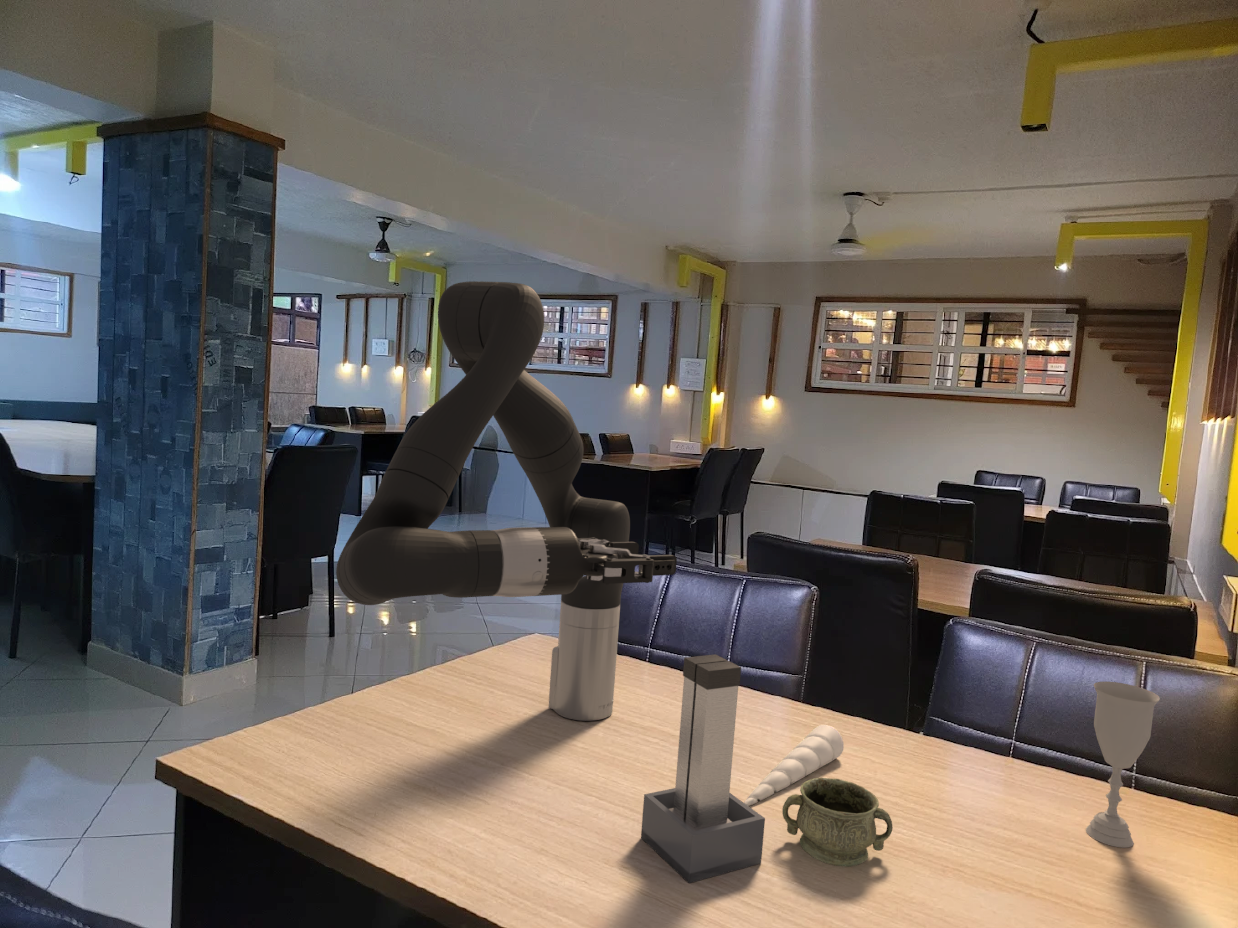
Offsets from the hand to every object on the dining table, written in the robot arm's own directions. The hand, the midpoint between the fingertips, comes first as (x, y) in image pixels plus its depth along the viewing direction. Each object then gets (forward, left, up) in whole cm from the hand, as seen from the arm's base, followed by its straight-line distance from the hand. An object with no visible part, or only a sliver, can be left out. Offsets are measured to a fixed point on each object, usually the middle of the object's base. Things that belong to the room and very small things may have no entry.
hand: (655, 557), depth 97 cm
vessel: (+23, +4, -30) cm, 38 cm away
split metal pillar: (+11, -6, -29) cm, 32 cm away
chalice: (+50, +28, -30) cm, 65 cm away
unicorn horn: (+14, +19, -31) cm, 38 cm away
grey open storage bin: (+11, -6, -30) cm, 32 cm away
